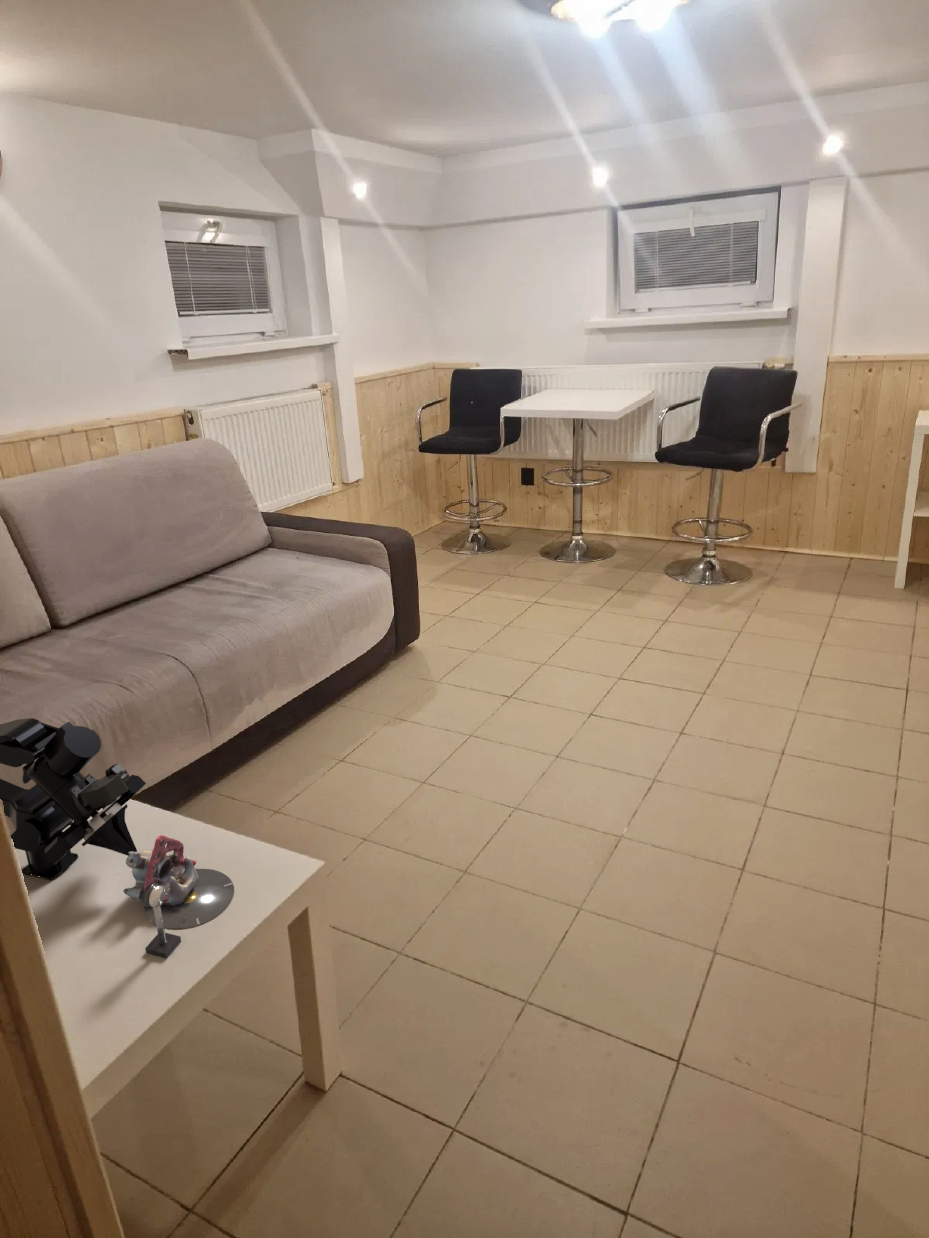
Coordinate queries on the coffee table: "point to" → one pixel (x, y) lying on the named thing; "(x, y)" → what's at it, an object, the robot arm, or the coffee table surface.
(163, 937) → the stand
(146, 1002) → the coffee table surface
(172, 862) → the brake caliper
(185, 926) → the truing plate
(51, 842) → the robot arm
